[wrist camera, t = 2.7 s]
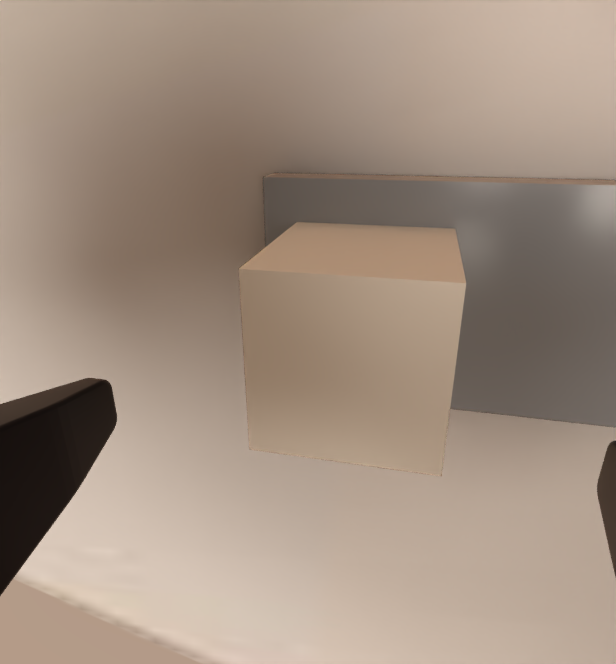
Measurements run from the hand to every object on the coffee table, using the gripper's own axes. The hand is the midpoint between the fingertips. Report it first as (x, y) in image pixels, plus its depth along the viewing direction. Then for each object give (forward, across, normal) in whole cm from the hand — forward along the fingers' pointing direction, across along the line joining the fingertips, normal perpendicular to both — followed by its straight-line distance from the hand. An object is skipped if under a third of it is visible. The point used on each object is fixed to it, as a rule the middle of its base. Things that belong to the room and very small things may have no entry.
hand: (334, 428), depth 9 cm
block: (+7, 0, 0) cm, 7 cm away
